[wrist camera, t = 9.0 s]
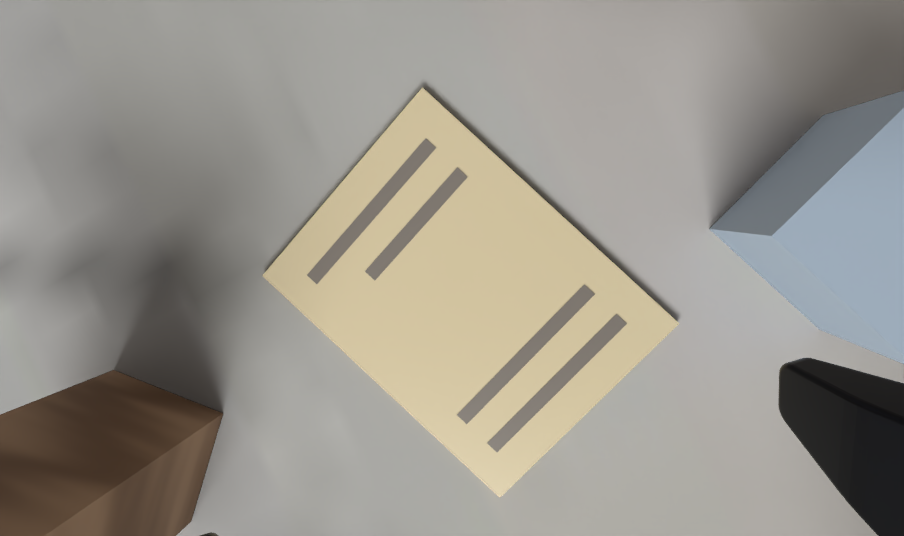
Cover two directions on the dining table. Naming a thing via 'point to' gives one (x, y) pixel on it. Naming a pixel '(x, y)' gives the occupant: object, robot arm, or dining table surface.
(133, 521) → the wooden cuboid post
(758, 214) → the slate cube
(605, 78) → the dining table surface
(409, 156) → the letter
